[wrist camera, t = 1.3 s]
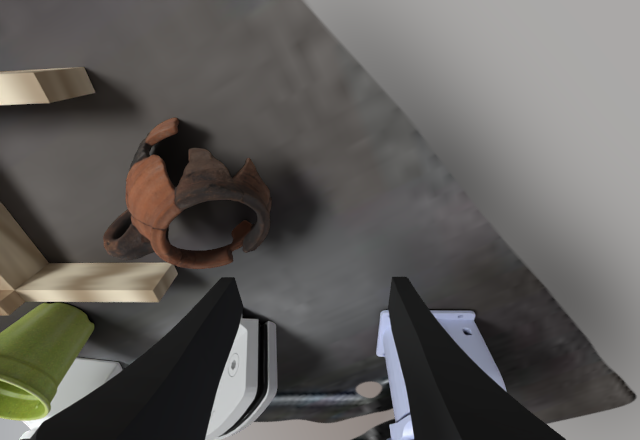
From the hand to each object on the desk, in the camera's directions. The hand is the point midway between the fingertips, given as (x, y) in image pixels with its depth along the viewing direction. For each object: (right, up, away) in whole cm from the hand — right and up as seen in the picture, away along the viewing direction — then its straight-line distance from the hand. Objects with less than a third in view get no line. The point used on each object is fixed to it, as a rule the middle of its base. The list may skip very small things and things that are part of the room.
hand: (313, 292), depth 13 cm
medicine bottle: (-31, -18, +26) cm, 44 cm away
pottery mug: (-9, +6, +9) cm, 14 cm away
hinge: (-11, -13, +22) cm, 28 cm away
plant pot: (-29, -8, +20) cm, 36 cm away
